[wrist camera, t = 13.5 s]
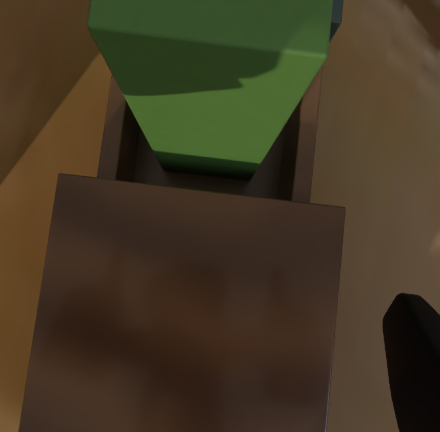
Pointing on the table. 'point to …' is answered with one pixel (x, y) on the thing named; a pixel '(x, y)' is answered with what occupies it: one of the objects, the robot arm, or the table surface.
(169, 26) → the green beveled box
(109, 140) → the drawer
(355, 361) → the table surface
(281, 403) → the cabinet
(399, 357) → the robot arm
